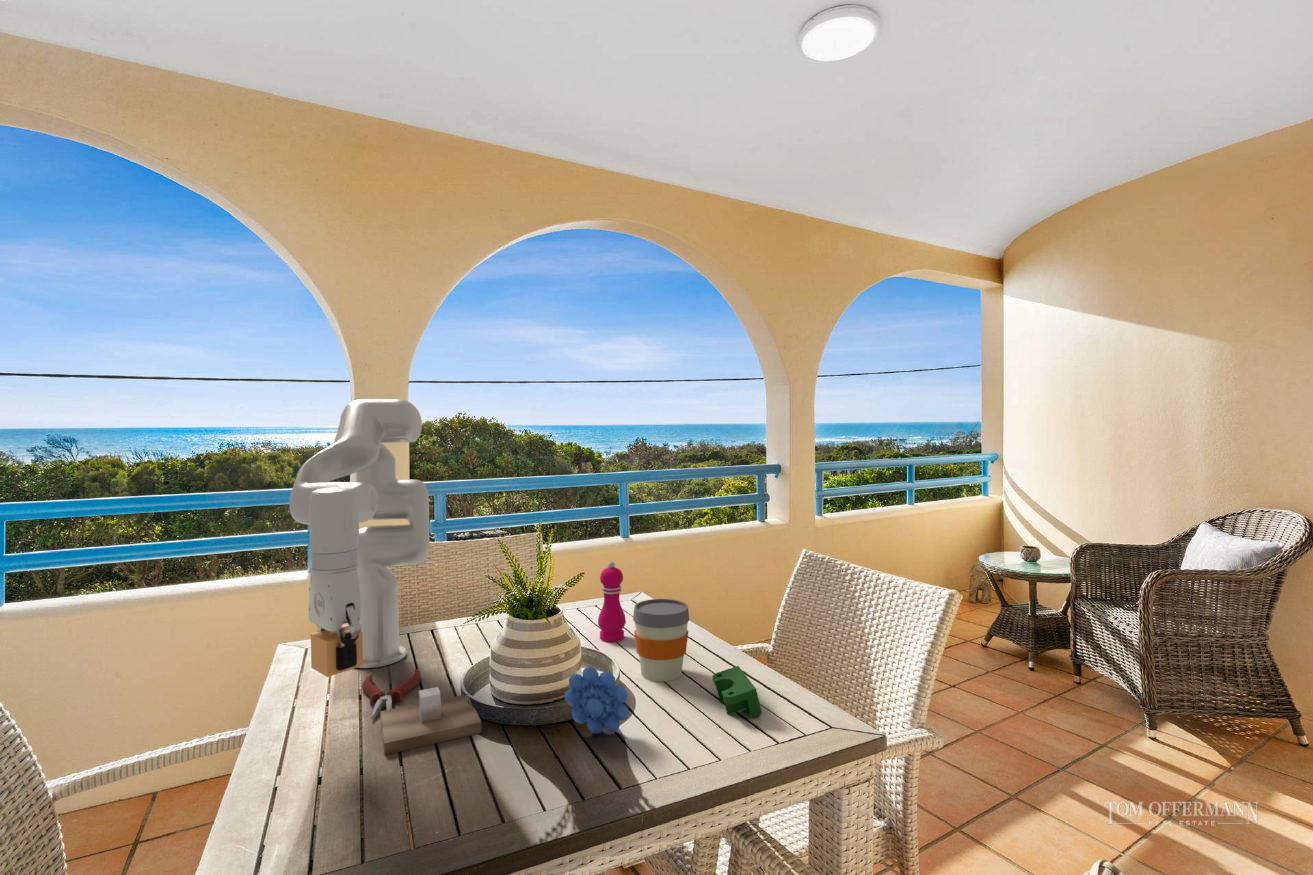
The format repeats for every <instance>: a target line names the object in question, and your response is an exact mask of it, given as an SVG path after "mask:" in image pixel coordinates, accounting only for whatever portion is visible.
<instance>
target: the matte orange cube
mask: <svg viewBox="0 0 1313 875" xmlns="http://www.w3.org/2000/svg"><path fill="white" fill-rule="evenodd" d="M346 626H349V624H348V623H344V624H343V625H342V627H346ZM342 627H341V628H342ZM342 633H343V638H344V636H345V635H346V633H349V630H346V631H342ZM357 639H358V642H357V643H356V645H357V664H356V666H353V667H350V668H347V669H344V670H341V671H338V670H337V669H336V647H339V646H338V641H337V636H336V632H329V631H327V630H322V631H318V632H317V631H316V632H315V631H314V632H311V633H310V659H311V660H310V663H311V666H310V667H311V669H312V670H315V671H316V672H318V673H320V675H323V676H325V677H327V678H329V677H332V676H335V675H338V674H342V673H344V672H348V671H350V670H353V669H356V668H357V667H360V666H363V631H361V632H360V634H359V636H358V638H357Z"/></svg>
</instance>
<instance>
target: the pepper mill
mask: <svg viewBox="0 0 1313 875" xmlns="http://www.w3.org/2000/svg"><path fill="white" fill-rule="evenodd" d="M607 566H608V567H606V568H603V570H602V571H601V573H600V575H599V581H600V583H601V584H602V586H601V589H602V590H601V592H602V593H603V603H602V607H601V610H600V612H599V614H598V617H597V624H598V627H599V628H600V629H601V630H600V631H599V639H600V640H601V641H603V642H605V643H606V642H607V643H616V642H620V641H622V640H624V638H625V631H624V629H623V628H624V627H625V626H626V624H627V623H626V622H627V621H626V620H627V619H626V615H625V611H624V610H623V607H622V605H621V601H620V593H621V592H622V585H621V584H622V583H623V580H624V575H623V572H622V570H621V569H620V568H618V567H616V565H615V562H614V561H609V562H608V564H607Z"/></svg>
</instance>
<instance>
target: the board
mask: <svg viewBox="0 0 1313 875" xmlns="http://www.w3.org/2000/svg"><path fill="white" fill-rule="evenodd" d="M464 695H465V694H462V695H461V694H460V695H456V696H452V697H446V698H442V697H441V690H440V688H439V686H435V687H431V688H426V689H421V690H418V703H416V704H409V705H405V706H400V707H396V708H392V709H390V710H386V709H384V710H381V711H380V713H379V716H380V730H381V737H382V745H383V754H384V756H387V755H391V754H396V753H399V752H404V751H409V750H414V749H419V748H421V747H425V746H431V745H434V744H440V743H443V742H448V741H452V740H456V739H461V738H465V737H470V736H474V735H477V734H478V735H479V734H482V720H481V718H480V716H479V714H478V711H477V710H476V708H474V707H475V706H474V707H472V706H470V705H469V704H468V703H467V702H466V698H465V696H464ZM466 695H469V696H470V694H469V693H466Z"/></svg>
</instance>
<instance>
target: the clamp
mask: <svg viewBox="0 0 1313 875" xmlns="http://www.w3.org/2000/svg"><path fill="white" fill-rule="evenodd" d="M712 681H713V684H714V686H715V688H716V693H717V696H718V700H719V702H720V703H721V704H724V707H725V711H726V714H727V715H728V716H729V715H732V714H734V713H738V712H741V711H744V710H745V711H746V712H747V713H748V716H750V718H754V717H757V716H759V715H762V714H763V711H762V706H761V704H760V699H759V695H758V691H757V688H756V686H754V684H753V683H752V681H751V680H750V679H749V678H748V676H747V675H746V674H745V672H744V671H743V670H742V668H741V667H740V666H739V665H737V666H733V667H730V668H728V669H724V670H722V671H719V672H716V673H714V674H713V675H712Z"/></svg>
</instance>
